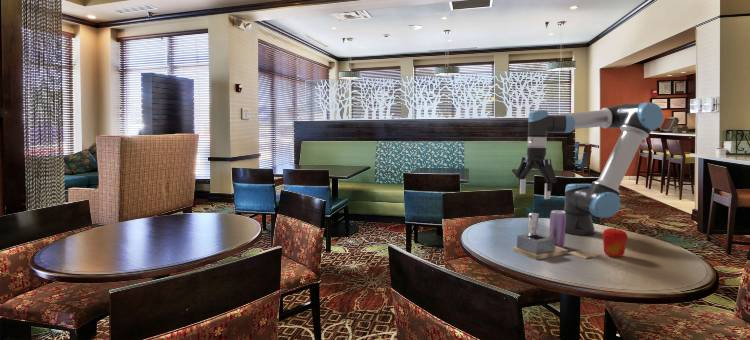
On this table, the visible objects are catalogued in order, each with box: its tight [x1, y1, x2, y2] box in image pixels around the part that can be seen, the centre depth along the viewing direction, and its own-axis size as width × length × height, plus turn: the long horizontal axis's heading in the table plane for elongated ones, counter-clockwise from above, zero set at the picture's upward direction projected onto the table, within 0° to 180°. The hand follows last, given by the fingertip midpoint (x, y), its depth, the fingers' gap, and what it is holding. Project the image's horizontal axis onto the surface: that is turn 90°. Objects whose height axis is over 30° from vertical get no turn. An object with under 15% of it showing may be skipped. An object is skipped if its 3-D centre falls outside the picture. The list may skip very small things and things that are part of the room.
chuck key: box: [527, 212, 540, 234], centre depth 179 cm, size 6×4×12 cm
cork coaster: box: [568, 249, 598, 260], centre depth 162 cm, size 7×7×1 cm
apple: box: [602, 226, 629, 258], centre depth 161 cm, size 9×8×12 cm
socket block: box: [516, 233, 555, 255], centre depth 164 cm, size 10×10×5 cm
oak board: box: [512, 246, 569, 260], centre depth 165 cm, size 17×12×2 cm
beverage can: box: [548, 209, 566, 249], centre depth 172 cm, size 6×6×15 cm
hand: (534, 196), depth 177 cm, fingers open, 13 cm apart
